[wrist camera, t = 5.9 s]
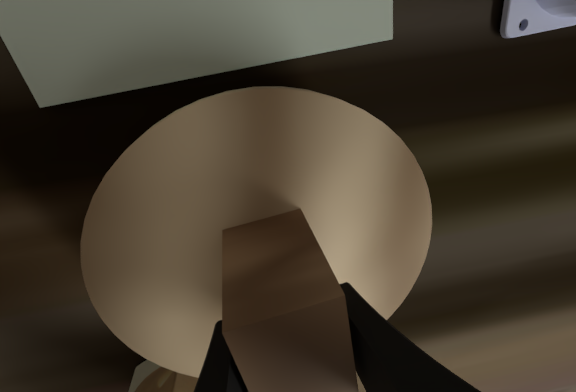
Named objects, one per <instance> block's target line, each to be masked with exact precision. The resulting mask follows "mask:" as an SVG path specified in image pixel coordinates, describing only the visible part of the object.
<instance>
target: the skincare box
mask: <svg viewBox="0 0 576 392" xmlns="http://www.w3.org/2000/svg"><path fill="white" fill-rule="evenodd" d="M197 381H198V378H197V377H193V376H189V375H185V374H181V373H178V372H175V371H172V370H169V369H167V368H164V367H161V366H159V365H157V364H155V363H153V362H151V361H149V360H146V361H144V362H143V363H141V364H140V365H138V366H137V367H136V369H135V372H134V375H133V378H132V382H131V385H130V388H129V391H128V392H194V389H195V386H196V383H197Z"/></svg>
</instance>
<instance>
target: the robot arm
mask: <svg viewBox="0 0 576 392" xmlns="http://www.w3.org/2000/svg"><path fill="white" fill-rule="evenodd" d="M520 22H521V27H520V28H519V24H520ZM573 25H576V0H504V6H503V13H502V20H501V27H500V34H501V36H502V37H503V38H514V37H519V36H524V35H529V34H533V33H538V32H543V31H548V30H553V29H558V28H563V27H568V26H573ZM340 286H341V288H342V290H343V292H344V294H345V299H346V306H347V313H348V320H349V327H350V334H351V341H352V349H353V356H354V363H355V370H356V372H357V374H358V376H359V378H360V380H361V382H362V384H363V386H364V388H365V390H366V392H481V391H479V390H478V389H476V388H474V387H473V386H471V385H470V384H469V383H467V382H466V381H464V380H463V379H461V378H460V377H458V376H457V375H455V374H454V373H452V372H451V371H450V370H448V369H447V368H445V367H444V366H443V365H441V364H440V363H438V362H437V361H436V360H434V359H433V358H432V357H430V356H429V355H428V354H426V353H425V352H424V351H423V350H421V349H420V348H419V347H417V346H416V345H415V344H414V343H413V342H411V341H410V340H409V339H408V338H406V337H405V336H404V335H403V334H402V333H400V332H399V331H398V330H397V329H396V328H395V327H394V326H392V325H391V324H390V323H389V322H388V321H387V320H386V319H385V318H383V317H382V316H381V315H380V314H379V313H378V312H377V311H376V310H375V309H374V308H373V307H372V306H371V305H370V304H369V303H368V302H367V301H366V300H365V299H364V298H363V297H362V296H361V295H360V294H359V293H358V292H357V291H356V290H355V289H354V288H353V287H352V285H351V284H350V283H348V282H345V283H342V284H340ZM194 392H248V389H247V387H246V385H245V383H244V380H243V378H242V376H241V374H240V372H239V369H238V367H237V365H236V363H235V360H234V358H233V356H232V354H231V352H230V349H229V347H228V345H227V343H226V341H225V338H224V336H223V334H222V320H220V321H217V322H216V324H215V327H214V331H213V334H212V338H211V341H210V345H209V348H208V351H207V354H206V357H205V361H204V364H203V367H202V369H201V372H200V375H199V378H198V381H197V383H196V386H195V389H194Z"/></svg>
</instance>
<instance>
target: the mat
mask: <svg viewBox="0 0 576 392" xmlns="http://www.w3.org/2000/svg"><path fill="white" fill-rule="evenodd" d="M0 36H1V38H2V40H3V41H4V43H5V45H6V47H7V49H8V50H9V52H10V54H11V56H12V58H13V60H14V61H15V63H16V65H17V67H18V69H19V71H20V72H21V74H22V76H23V78H24V80H25V81H26V83H27V85H28V87H29V89H30V91H31V92H32V94H33V96H34V98H35V100H36V102H37V103H38V105H39V107H40V108H42V107H47V106H52V105H57V104H62V103H68V102H73V101H78V100H83V99H88V98H93V97H98V96H103V95H109V94H114V93H119V92H124V91H129V90H134V89H139V88H144V87H150V86H155V85H160V84H165V83H170V82H175V81H180V80H186V79H191V78H196V77H201V76H206V75H211V74H216V73H221V72H227V71H232V70H237V69H242V68H247V67H252V66H257V65H262V64H268V63H273V62H278V61H283V60H288V59H293V58H298V57H304V56H309V55H314V54H319V53H324V52H329V51H334V50H339V49H345V48H350V47H355V46H360V45H365V44H370V43H375V42H380V41H386V40H391V39H393V0H0Z"/></svg>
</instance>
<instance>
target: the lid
mask: <svg viewBox="0 0 576 392" xmlns="http://www.w3.org/2000/svg"><path fill="white" fill-rule="evenodd" d="M431 229H432V206H431V201H430V195H429V190H428V186H427V184H426V181H425V178H424V175H423V172H422V170H421V168H420V166H419V165H418V163H417V161H416V159H415V157H414V155H413V154H412V152H411V151H410V150H409V149H408V147H407V146H406V145H405V144H404V142H403V141H402V140H401V139H400V137H399V136H397V135H396V134H395V133H394V132H393V131H392V130H391V129H390V128H389V127H388V126H386V125H385V124H384V123H383V122H381V121H380V120H378V119H377V118H375V117H374V116H372V115H371V114H369V113H368V112H366V111H365V110H363V109H360V108H358V107H356V106H354V105H351V104H349V103H347V102H345V101H342V100H340V99H337V98H335V97H332V96H329V95H325V94H321V93H318V92H314V91H311V90H307V89H299V88H291V87H283V86H267V87H249V88H243V89H237V90H230V91H225V92H222V93H219V94H216V95H212V96H209V97H206V98H202V99H200V100H197V101H195V102H193V103H191V104H189V105H187V106H185V107H182V108H180V109H178V110H176V111H174V112H173V113H171V114H170V115H168V116H167V117H165V118H163V119H162V120H160V121H159V122H157V123H156V124H154V125H153V126H152V127H150V128H149V129H148V130H147V131H146V132H145V133H144V134H143V135H141V136H140V137H139V138H138V139H137V140H136V141H135V142H134V143H133V144H131V145H130V146H129V147H128V148H127V149H126V150H125V151H124V152H123V153H122V155H121V156H120V157H119V158H118V160H117V161H116V162H115V163H114V164H113V166H112V167H111V168H110V169H109V171H108V172H107V173H106V174H105V176H104V178H103V180H102V181H101V183H100V185H99V187H98V188H97V190H96V192H95V193H94V195H93V197H92V200H91V203H90V206H89V208H88V211H87V214H86V217H85V219H84V225H83V231H82V237H81V268H82V273H83V278H84V283H85V286H86V289H87V291H88V294H89V297H90V299H91V302H92V304H93V306H94V307H95V309H96V311H97V312H98V314H99V316H100V317H101V319H102V320H103V322H104V323H105V324H106V325H107V326H108V328H109V329H110V330H111V331H112V332H113V334H114V335H115V336H116V337H118V338H119V339H120V340H121V341H122V342H123V343H124V344H125V345H127V346H128V347H129V348H130V349H132V350H133V351H135V352H136V353H138V354H139V355H141V356H142V357H144V358H145V359H147V360H149V361H151V362H153V363H155V364H157V365H159V366H161V367H164V368H167V369H169V370H172V371H175V372H178V373H181V374H185V375H189V376H193V377H197V378H199V375H200V372H201V369H202V367H203V364H204V361H205V357H206V354H207V351H208V348H209V345H210V341H211V338H212V334H213V331H214V327H215V324H216V322H217V321H220V320H222V334H223V336H224V338H225V341H226V343H227V345H228V347H229V349H230V352H231V354H232V356H233V358H234V360H235V363H236V365H237V367H238V369H239V372H240V374H241V376H242V378H243V380H244V383H245V385H246V387H247V389H248V392H358V384H357V377H356V370H355V363H354V356H353V349H352V341H351V334H350V327H349V320H348V313H347V306H346V299H345V294H344V292H343V290H342V288H341V286H340V284H342V283H345V282H348V283H350V284H351V285H352V287H353V288H354V289H355V290H356V291H357V292H358V293H359V294H360V295H361V296H362V297H363V298H364V299H365V300H366V301H367V302H368V303H369V304H370V305H371V306H372V307H373V308H374V309H375V310H376V311H377V312H378V313H379V314H380V315H381V316H382V317H383V318H385V319H386V320H387V319H388V318H389V317H390V316H391V315H392V314H393V313H394V312H395V310H396V309H397V308H398V307H399V306H400V304H401V303H402V302H403V300H404V299H405V298H406V296H407V295H408V293H409V292H410V290H411V289H412V287H413V285H414V283H415V281H416V279H417V278H418V276H419V274H420V271H421V269H422V266H423V264H424V261H425V259H426V255H427V251H428V247H429V243H430V237H431Z"/></svg>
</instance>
